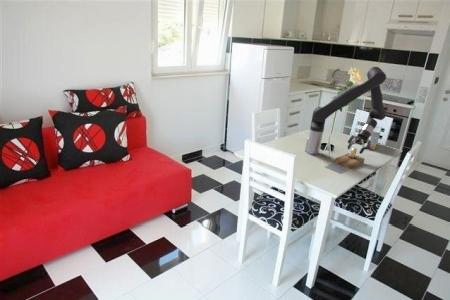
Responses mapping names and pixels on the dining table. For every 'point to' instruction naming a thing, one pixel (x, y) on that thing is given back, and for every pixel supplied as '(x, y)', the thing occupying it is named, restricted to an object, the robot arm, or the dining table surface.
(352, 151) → the brass pin
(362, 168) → the dining table surface
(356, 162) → the brown flat lump
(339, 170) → the rubber mat
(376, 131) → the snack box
